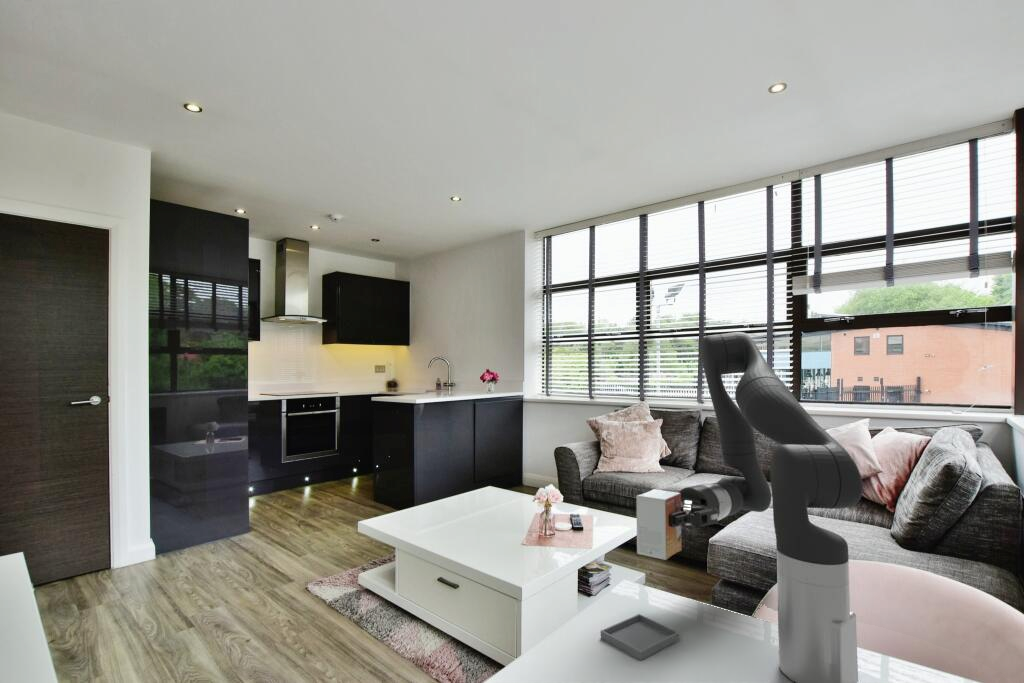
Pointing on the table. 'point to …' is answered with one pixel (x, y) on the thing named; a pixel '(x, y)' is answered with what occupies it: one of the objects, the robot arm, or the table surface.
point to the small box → (658, 524)
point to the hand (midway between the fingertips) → (653, 516)
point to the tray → (640, 636)
